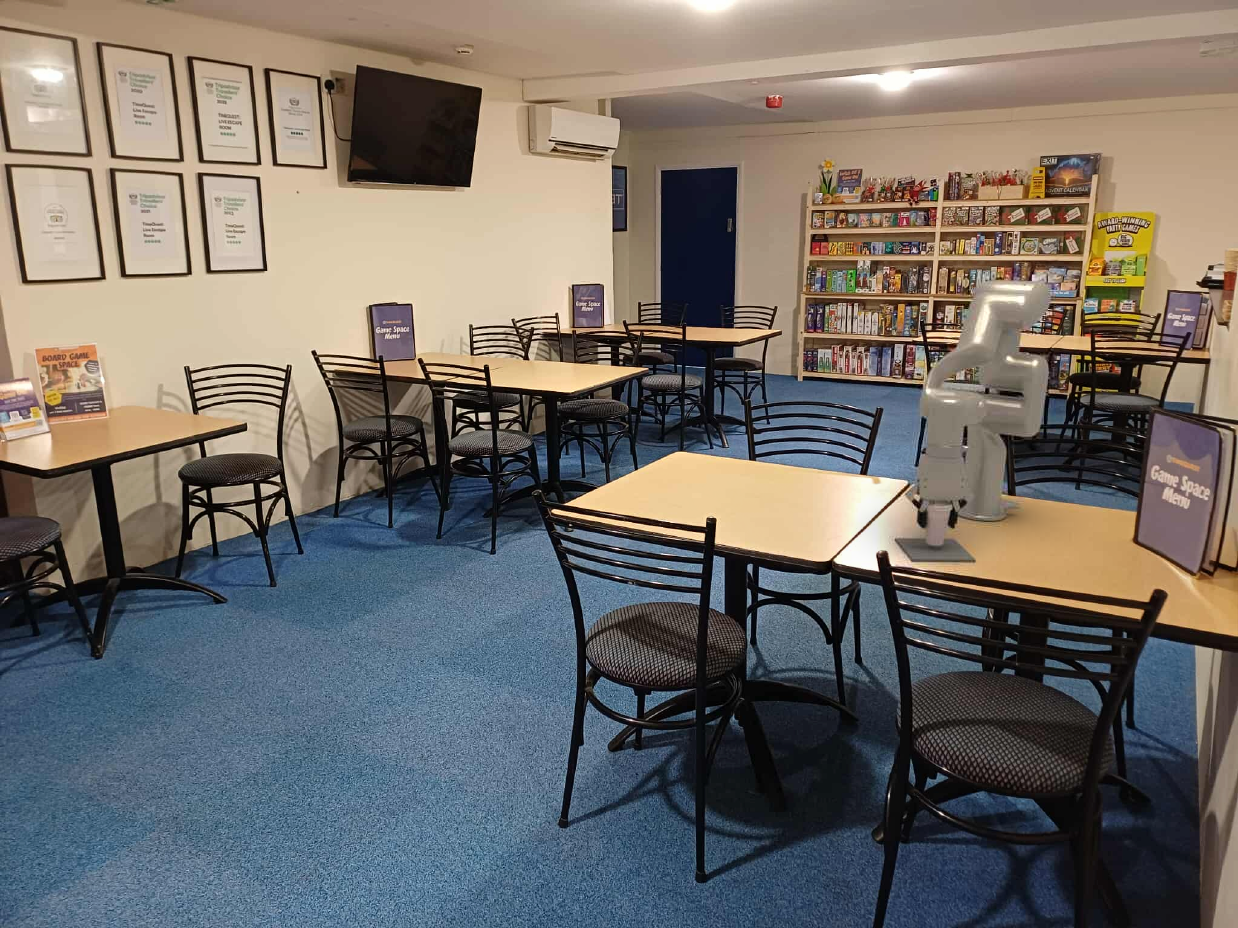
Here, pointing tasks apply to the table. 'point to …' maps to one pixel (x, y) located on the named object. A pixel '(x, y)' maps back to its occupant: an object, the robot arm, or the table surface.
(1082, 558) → the table surface
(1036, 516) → the table surface
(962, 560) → the coaster mat
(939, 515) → the white drink cup
